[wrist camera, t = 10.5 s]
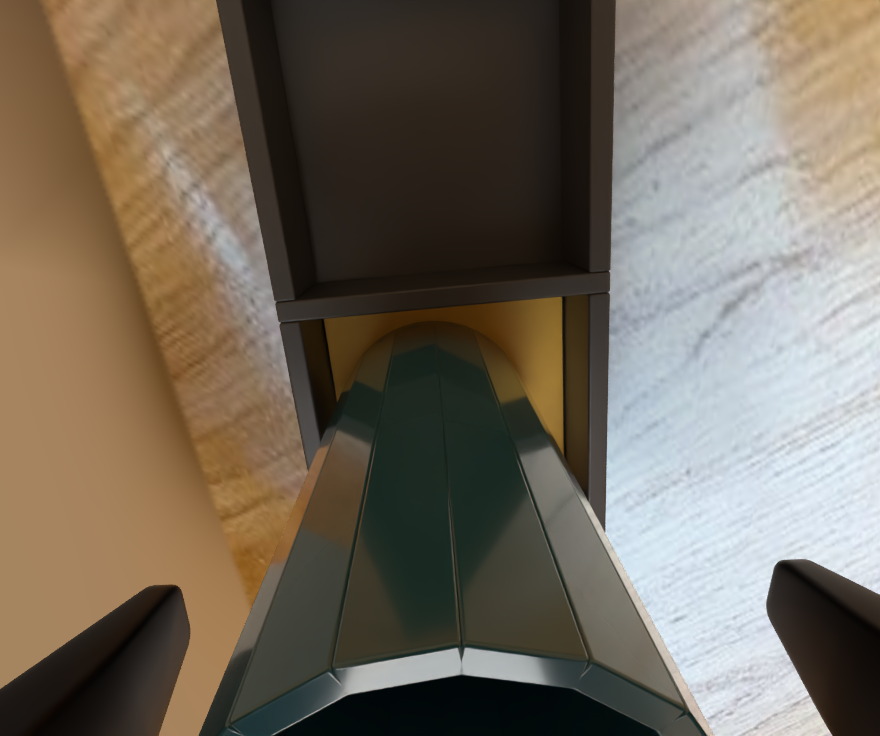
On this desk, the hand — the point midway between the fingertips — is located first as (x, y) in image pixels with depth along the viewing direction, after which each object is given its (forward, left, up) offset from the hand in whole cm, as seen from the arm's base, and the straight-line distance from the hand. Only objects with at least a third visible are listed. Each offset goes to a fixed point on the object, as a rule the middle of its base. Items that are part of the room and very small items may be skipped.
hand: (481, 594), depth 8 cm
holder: (-2, +3, -9) cm, 9 cm away
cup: (0, -1, -8) cm, 8 cm away
